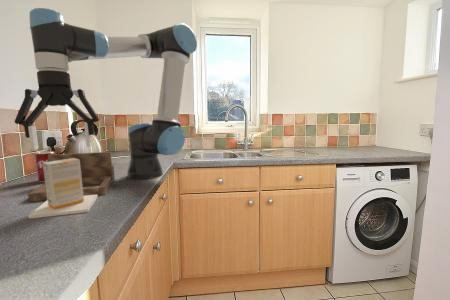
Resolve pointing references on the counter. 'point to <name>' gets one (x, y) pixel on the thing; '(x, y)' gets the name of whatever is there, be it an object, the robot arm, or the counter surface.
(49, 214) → the off-white pad
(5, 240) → the counter surface
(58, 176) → the supplement box
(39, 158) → the soda can
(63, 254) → the counter surface
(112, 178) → the walnut case
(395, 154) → the counter surface
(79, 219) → the counter surface
